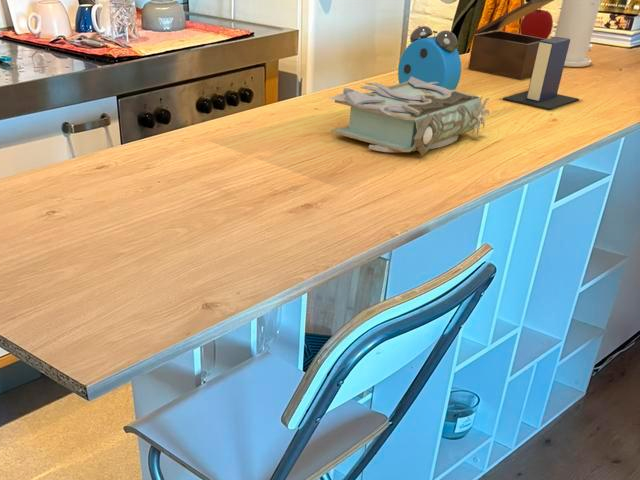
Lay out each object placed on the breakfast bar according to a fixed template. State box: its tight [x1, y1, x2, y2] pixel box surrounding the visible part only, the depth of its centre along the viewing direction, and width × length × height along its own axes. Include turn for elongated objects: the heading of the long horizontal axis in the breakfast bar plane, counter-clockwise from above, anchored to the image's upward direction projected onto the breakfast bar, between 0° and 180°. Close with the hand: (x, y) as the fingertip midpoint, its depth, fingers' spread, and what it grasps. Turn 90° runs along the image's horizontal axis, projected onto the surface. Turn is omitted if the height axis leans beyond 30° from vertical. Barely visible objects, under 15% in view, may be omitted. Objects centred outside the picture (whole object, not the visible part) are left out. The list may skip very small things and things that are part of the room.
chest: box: [467, 29, 544, 81], centre depth 211 cm, size 16×12×8 cm
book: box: [526, 37, 570, 102], centre depth 186 cm, size 8×4×12 cm, turn 136°
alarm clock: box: [397, 25, 462, 90], centre depth 178 cm, size 13×6×15 cm, turn 43°
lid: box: [473, 0, 555, 35], centre depth 205 cm, size 16×12×1 cm
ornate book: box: [327, 76, 491, 157], centre depth 160 cm, size 23×10×30 cm
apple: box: [520, 7, 554, 39], centre depth 243 cm, size 9×9×10 cm
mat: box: [502, 90, 580, 111], centre depth 190 cm, size 14×12×1 cm
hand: (531, 1), depth 201 cm, fingers closed
